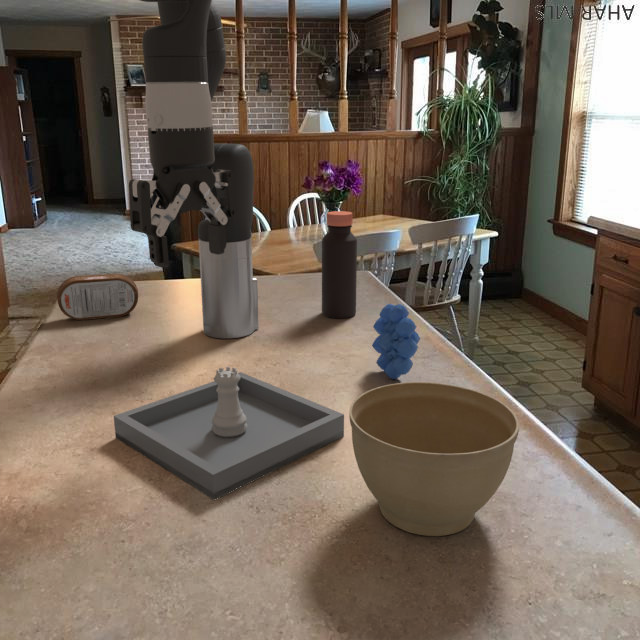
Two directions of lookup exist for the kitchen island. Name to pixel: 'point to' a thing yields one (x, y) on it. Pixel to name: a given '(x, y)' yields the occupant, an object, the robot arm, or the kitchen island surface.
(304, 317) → the kitchen island surface
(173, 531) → the kitchen island surface
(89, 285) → the tin
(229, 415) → the rook chess piece
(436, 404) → the planter bowl
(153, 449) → the tray
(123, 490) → the kitchen island surface
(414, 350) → the grapes
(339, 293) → the bottle
